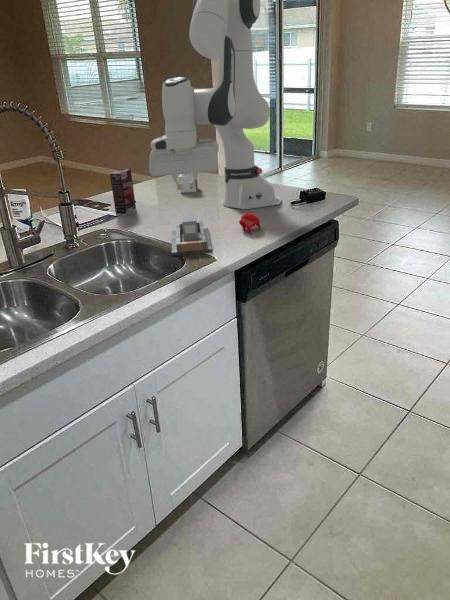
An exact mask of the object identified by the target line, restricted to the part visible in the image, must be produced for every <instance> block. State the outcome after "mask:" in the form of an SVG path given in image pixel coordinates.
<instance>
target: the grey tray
mask: <svg viewBox="0 0 450 600" xmlns="http://www.w3.org/2000/svg"><path fill="white" fill-rule="evenodd" d="M175 226H176V227H175V230H171V256H173V257H174V256H175V257H176V256H184V255H185V256H186V255H197V254H208V253H213V246H212V242H211V236H210V231H209V230H210V229H209V227H205V226H204V222H203V220H200V221H198V220H197V231H198V241H192V242H184V236H183V226H182V222H177V223H176V224H175Z"/></svg>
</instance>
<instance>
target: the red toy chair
mask: <svg viewBox="0 0 450 600" xmlns="http://www.w3.org/2000/svg"><path fill="white" fill-rule="evenodd" d="M238 223H239V224H240V227H242V230H243V231H245V230H246V229H247V231H248V232H249V234H251V233H253V230H252V228H253V227H255V226H257V227H258V228H259V229H261V227H262V226H261V225H260V224H261V221H260V218H259V216H257V215H256V214H253V213H250V212H245V213H243V214H242V215H241V216H240V219H239V221H238Z"/></svg>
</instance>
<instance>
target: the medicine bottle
mask: <svg viewBox="0 0 450 600" xmlns="http://www.w3.org/2000/svg"><path fill="white" fill-rule="evenodd" d="M193 178H194V177H193V174H192V173H190V174H179V175H178V182H182V189H180V190H179V192H180V194H183V193H187V194H188V193H197V191H198V178H197V179H196V181H195V183H194V185H195V188H193V189H190V184H189V182H192V180H193Z"/></svg>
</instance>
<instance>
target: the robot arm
mask: <svg viewBox="0 0 450 600" xmlns="http://www.w3.org/2000/svg"><path fill="white" fill-rule="evenodd" d="M191 8H192V17H191V21H190V25H189V32H188V33H189V35H188V36H189V41H190V44H191V45H192V47H193V49H194V50H195V51H196V52H197V53H198V54H200V55H201V56H202V57H204V58H207V59H210V60H213V61H215V62H217V63H218V69H217V70H218V72H217V73H218V75H217V76H218V77H217V84H216V85H215V86H214V87H210V88H208V87H207V88H194V87H193V86H192V84H191V81H190V79H189V78H188V77H186V76H178V77H176V76H175V77H173V78H172V77H171V78H169V79H166V80H165V81H164V82H162V87H161V88H162V89H161V103H162V105H161V107H162V115H163V117H164V120H165V121H164V122H165V126H164V135H162V136H159V137H157V138H154V139H153V140H152V141H151V142H150V148H151V151H150V154H149V160H148V161H149V162H148V168H149V169H148V170H149V174H150V175H151V176H152V177H160V176H171V177H172V180H173V182H174V183H175V184H176V190H177V191H178V190H179V191H180V189H182V182H179V179H178V175H180V174H190V173H192V174H193V177H194V178H193V180H192V182H189V184H190V189H193V188H195V185H194V183H195V181H196V179H197V180H198V174H200V173H212V172H214V173H215V172H217V171H218V170H219V168H220V167H219V162H218V161H219V160H218V155H217V154H218V152H219V143H218V141H217V140H215V139H213V138H211V137H210V138H209V137H208V138H197V136H198V135H197V126H196V125H213V126H214V127H215V129H216V130H217V132H218V134H219V137H220V138H221V141H222V145H223V146H222V147H223V150H224V151H223V153H224V163H225V164H224V165H225V166H224V170H223V171H224V172H223V173H224V174H223V176H224V182H225V190H224V191H225V193H224V199H223V206H226V207H227V208H232V209H233V208H234V209H240V210H251V209H256V208H257V209H258V208H259V209H260V208H263V207H272V206H278V205H280V204H281V203H282V198H281V197H280V196H279V195H277V194H276V192H275V187H274V186H273V184H272V183H271V182H270V181H268V179H266V178H264V177H263V176H261V175H262V173H263V169H262V167H259V166H257V165H255V147H254V144H253V142H252V140H250V139H249V138H248V137H247V135H246V134H245V131H244V129H245V130H253V129H259V128H262V127H264V126H265V125H267V123H268V121H269V119H270V114H271V109H270V106H269V103H268V101H267V99H265V98H264V97H263V96H262V94H261V93H260V90H259V89H258V87H257V84H256V81H255V76H254V65H253V64H254V63H253V62H254V61H253V59H254V58H253V54H254V53H253V52H254V51H253V38H252V27H253V25H254V24H255V23H256V21H257V20H258V18H259V16H260V15H261V14H260V13H261V0H192V7H191Z"/></svg>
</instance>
